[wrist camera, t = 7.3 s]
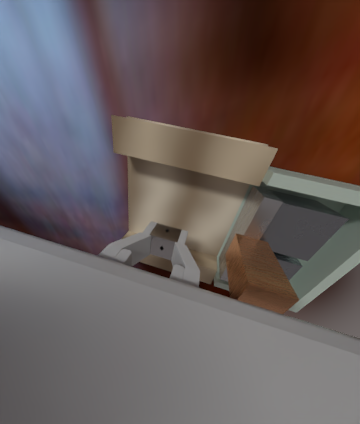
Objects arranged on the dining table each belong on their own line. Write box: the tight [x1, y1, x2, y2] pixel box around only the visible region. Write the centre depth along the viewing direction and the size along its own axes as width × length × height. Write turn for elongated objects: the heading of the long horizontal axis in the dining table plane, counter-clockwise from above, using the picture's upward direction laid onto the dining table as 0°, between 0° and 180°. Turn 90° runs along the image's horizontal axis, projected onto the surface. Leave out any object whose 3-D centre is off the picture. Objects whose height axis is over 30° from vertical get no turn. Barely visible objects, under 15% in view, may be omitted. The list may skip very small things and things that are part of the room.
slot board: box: [111, 115, 278, 284], centre depth 14 cm, size 12×15×3 cm
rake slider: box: [219, 185, 299, 314], centre depth 10 cm, size 2×9×7 cm, turn 169°
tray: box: [214, 166, 360, 312], centre depth 12 cm, size 8×12×4 cm
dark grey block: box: [260, 190, 348, 261], centre depth 11 cm, size 4×4×3 cm
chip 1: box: [273, 252, 303, 280], centre depth 13 cm, size 4×4×3 cm
